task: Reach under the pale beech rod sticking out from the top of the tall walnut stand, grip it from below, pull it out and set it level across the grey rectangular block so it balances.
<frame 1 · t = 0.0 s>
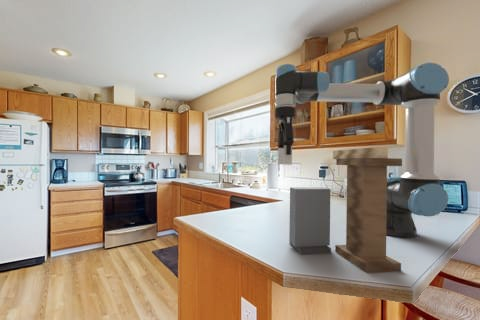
hand: (284, 164, 88), 28 cm above the counter, tool pointing down, fingers open, 13 cm apart
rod: (356, 158, 74), point 30 cm above the counter, touching stand
grey rectangular block: (309, 248, 79), on the counter
stand: (365, 260, 70), on the counter
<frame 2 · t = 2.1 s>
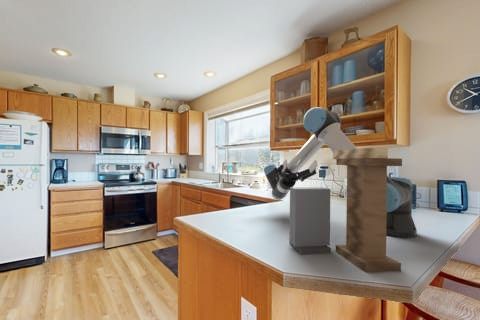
hand: (301, 162, 102), 29 cm above the counter, tool pointing upward, fingers open, 13 cm apart
nothing on the counter moved.
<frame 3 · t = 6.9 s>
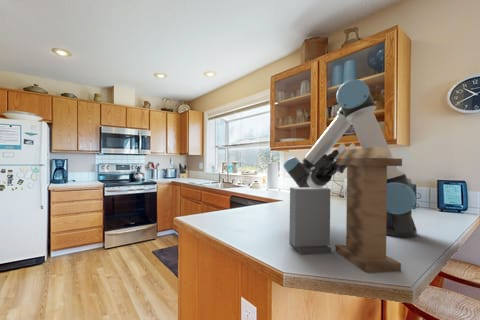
hand: (349, 146, 78), 34 cm above the counter, tool pointing upward, fingers closed on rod, 3 cm apart
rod: (356, 158, 74), point 30 cm above the counter, touching gripper, stand
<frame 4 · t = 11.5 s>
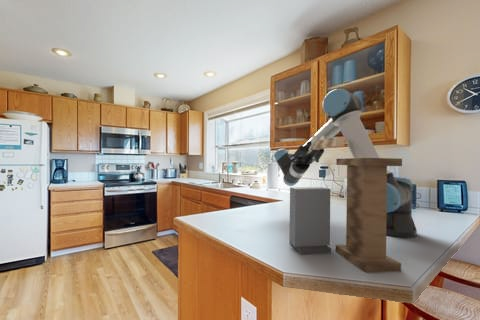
hand: (319, 138, 94), 39 cm above the counter, tool pointing upward, fingers closed on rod, 3 cm apart
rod: (324, 148, 90), point 34 cm above the counter, touching gripper
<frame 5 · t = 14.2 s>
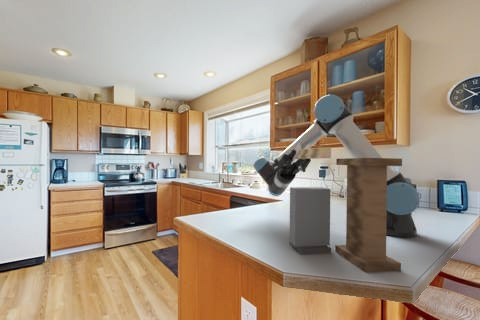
hand: (304, 146, 83), 34 cm above the counter, tool pointing upward, fingers closed on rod, 3 cm apart
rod: (309, 158, 79), point 30 cm above the counter, touching gripper
when the fingers open (25 cm above the counter, at t = 16.3 s): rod drops 1 cm, resting on grey rectangular block.
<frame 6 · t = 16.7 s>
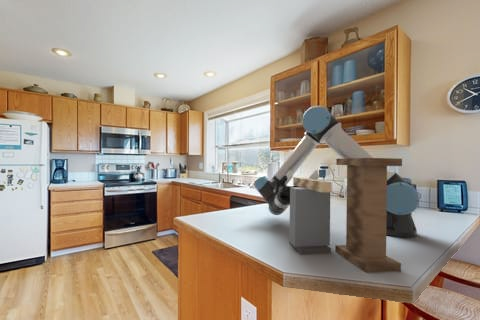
hand: (304, 173, 84), 25 cm above the counter, tool pointing upward, fingers open, 9 cm apart
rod: (309, 188, 79), point 20 cm above the counter, touching grey rectangular block
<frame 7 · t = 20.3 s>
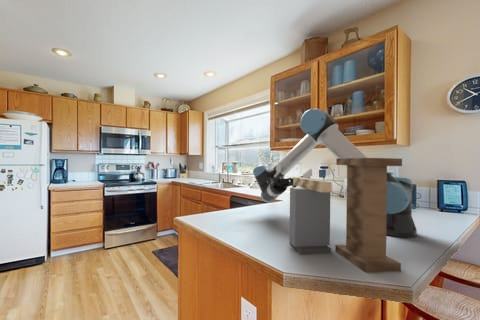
hand: (295, 170, 96), 26 cm above the counter, tool pointing upward, fingers open, 13 cm apart
nothing on the counter moved.
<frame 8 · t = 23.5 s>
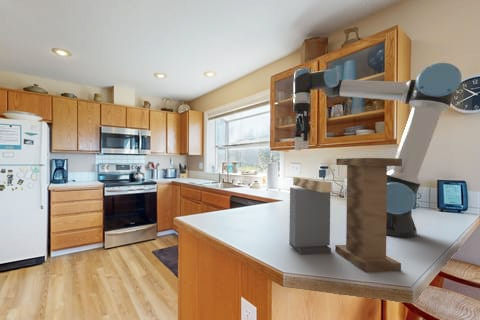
hand: (301, 149, 109), 35 cm above the counter, tool pointing down, fingers open, 13 cm apart
nothing on the counter moved.
at the end: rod touching grey rectangular block; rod tilted 0°; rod point 20.0 cm above the counter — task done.
